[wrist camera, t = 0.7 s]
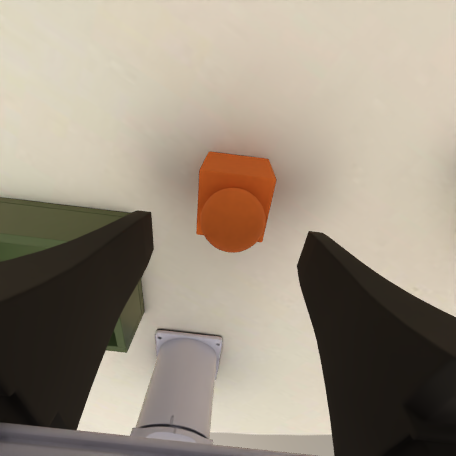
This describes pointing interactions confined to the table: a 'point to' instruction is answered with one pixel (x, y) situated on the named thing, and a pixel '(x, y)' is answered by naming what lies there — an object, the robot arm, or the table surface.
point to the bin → (58, 234)
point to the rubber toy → (234, 200)
